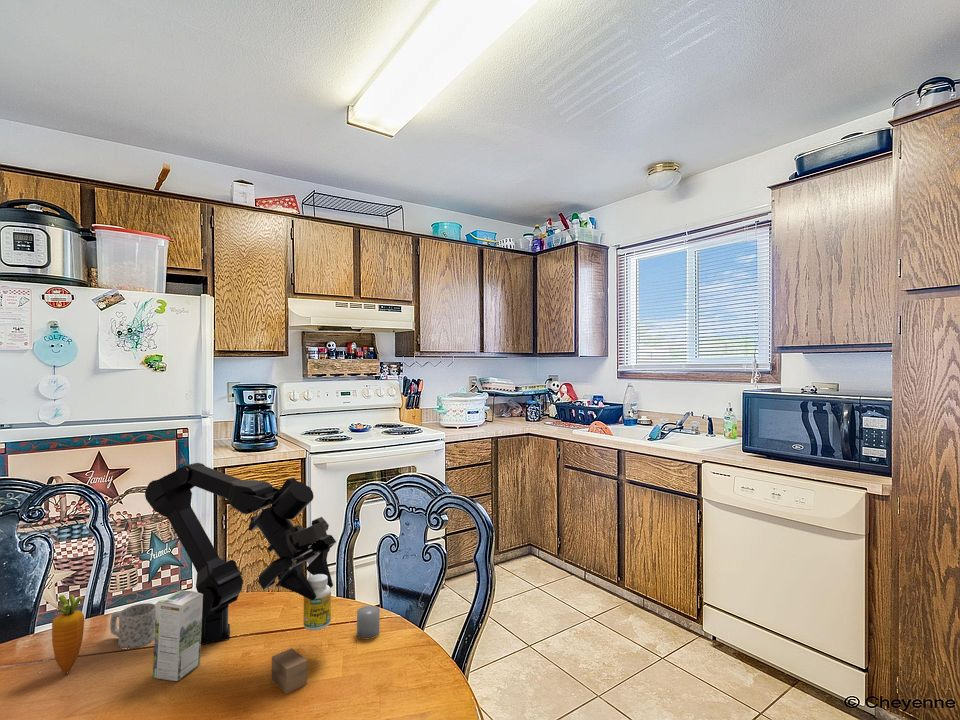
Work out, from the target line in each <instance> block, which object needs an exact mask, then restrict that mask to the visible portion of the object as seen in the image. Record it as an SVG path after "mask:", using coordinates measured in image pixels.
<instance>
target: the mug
mask: <svg viewBox="0 0 960 720" xmlns="http://www.w3.org/2000/svg"><path fill="white" fill-rule="evenodd" d="M155 620H156V603H152V602H145V603H144V602H143V603H138V604H132V605H131V606H128V607H126V608H123V609H122V610H121V611H115V612H113V613H112V614H111V616H110V627H109V628H110V632H111V634H112V635H114V636H116V637H117V638H118V643H117V644H118V645H117V646H119V647H120V648H119V647H118V648H119V649H121V648H127V649H126V650H132V649H131V648H135V649H138V647H139V648H141V646H142V647H144V646H147V645H149V644H151V643H152V642H153V641H155ZM117 621H118V623H119V624H118V625H117ZM128 648H129V649H128Z"/></svg>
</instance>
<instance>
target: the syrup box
mask: <svg viewBox="0 0 960 720" xmlns="http://www.w3.org/2000/svg"><path fill="white" fill-rule="evenodd" d="M155 605H156V620H155V639H154V640H153V641H154V642H153V643H154V645H153V646H154V647H153V648H154V649H153V663H152V677H153V679H160V680H165V681H166V680H167V681H171V682H179V681H180V680H182V679H183V678H184V677H186V676H187V675H189V674H190V673H191V672H192V671H194V670H195V669H197V667H199V666H201V649H202V648H201V647H202V644H201V629H202V607H203V594H202V593H198V592H197V591H193V590H187V589H186V590H181V589H180V590H177V591H176V592H174V593H172V594H170V595H168V596H166V597H164V598H163V599H160V600H159V601H157V602H156V603H155Z"/></svg>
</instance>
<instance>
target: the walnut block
mask: <svg viewBox="0 0 960 720" xmlns="http://www.w3.org/2000/svg"><path fill="white" fill-rule="evenodd" d="M270 676H271V681H272V683H274V684H275V685H276V686H277V687H278V688H279V690H280V689H281V690H282V692H283V693H284V694H286V695H287V694H289V693H291V692H293V691H295V690H297V689H299V688H301V687H304V686H306V685H307V684H308V681H307V680H308V659H307V658H305V657H304V656H303V655H301V654H300V653H299V652H297V650H295V649H294V648H293V647H292V648H289V649H287V650H283V651H281V652H279V653H277V654H274V655H272V656H271V675H270Z"/></svg>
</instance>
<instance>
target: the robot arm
mask: <svg viewBox="0 0 960 720" xmlns="http://www.w3.org/2000/svg"><path fill="white" fill-rule="evenodd" d="M195 487H196V488H198V489H200V490H203V491H206V492H209V493H212V494H213V495H217V496H219V497H221V498H224V499H226V500H227V501H228V503H229V505H230V506H231V507H232V508H234V509H235V510H237V512H240V513H241V514H244V515H248V514H252V513H255V512H258V511H260V512H259V513H258V514H256V515H254V516H251V517H250V521H249V524H248V531H249V532H250V531H253V530H256V529H259V530H260V532H261V533H262V535H263V536H264V539H265V540H266V541H267V543H268V544H269V545H268V547H267V548H266V550H267V551H268V552H269V553H271V552H275V554H276V555H277V557H278V558H277V559H275V560H273V561H272V562H270V564H269V565H268V566H267V567H266V568H264V569H263V571H262V572H261V573H259V575H258V584H259V585H260V587H261V588H262V590H263V591H265V590H266V589H268V588H270V587H272V586H273V585H274V584H275V583H276V579H277V580H278V581H277V583H276V584H275V587H277V588H278V587H281V588H283V589H287V590H288V591H291V592H294V593H296V594H298V595H300V596H302V597H303V598H304V597H306V598H308V599H310V600H314V599H315V598H316V594H315V592H314V590H313V589H312V587H311V585H310V584H309V582H308V581H307V579H308V578H306V576H305V575H304V570H303V569H304V568H303V567H304V565H303V563H304V562H306V563H307V567H305V571H307V572H309V574H310V575H311V576H312V575H316V574H324V575H327V577H328V583H327V585H328V586H329V587H330V588H331V589H332V588H333V586H334V584H333V580H332V576H331V572H330V570H329V564H328V560H327V559H328V555H329V552H330V551H331V548H332V547H333V546H335V544H336V543H337V541H336V539H335V538H334V536H333V535H332V534H328V533H327V531H328V529H329V526H330V525H329V523H328V522H327V520H325V518H323V516H320V517H318V518H315V519H313V520H312V521H311V525H310V526H308V527H305V528H303V526H302V525H299V524H298V525H294V524H293V523H292V521H291V520H293V519H296V517H298V515H299V514H301V513H302V511H304V510H305V508H306V507H308V505H309V504H310V503H311V502H312V501H313V500H314V492H313V489H312V488H311V487H310V486H308V485H307V484H306V483H304V482H302V481H300V480H299V481H297V479H296V478H295V477H291V478H287V479H286V480H285V481H284V483H283V485H282V486H281V487H280V488H277V487H274V486H273V485H272V484H271V483H270V482H268V481H262V480H258V479H257V480H256V479H242V478H241V479H240V478H238V477H235V476H233V475H229V474H227V473H225V472H221V471H219V470H217V469H213V468H212V467H208V466H206V465H205V464H204V463H202V462H201V463H200V462H195V463H188V464H184V465H182V466H180V467H178V468H177V469H176V470H174V471H173V472H171V473H168V474H166V475H164V476H162V477H160V478H158V479H156V480H152V481H150V482H149V483H148V484H147V486H146V488H145V490H144V497H145V500H146V502H147V503H148V504H149V506H150V507H151V508H152V510H153V511H154V512H156V513H158V514H159V515H161V516H163V517H164V518H166V519H167V520H168V521H169V523H170V525H171V527H172V528H173V530H174V533H175V535H176V536H177V538H178V539H179V541H180V544H181V545H182V547H183V549H184V551H185V552H186V554H187V556H188V558H189V560H190V562H191V564H192V566H193V567H194V569H195V571H196V573H197V575H196V581H195V588H196V592H198V593H202V594H203V607H202V629H201V645H204V644H205V645H206V644H210V643H216V642H220V641H223V640H228V639H229V640H230V638H231V623H229V605H231V604H232V603H235V602H237V601H238V598H239V595H240V593H241V592H242V590H243V584H244V580H243V576H242V575H243V573H242V572H241V571H240V569H239V568H238V566H237V564H236V561H235V560H234V559H229V560H227V561H226V560H224V559H222V558H221V557H220V555H219V554H218V552H217V551H216V549H215V547H214V545H213V542H212V541H211V539H210V537H209V536H208V534H207V532H206V531H205V529H204V527H203V525H202V524H201V522H200V520H199V519H198V517H197V514H196V513H195V511H194V510H193V507H192V504H191V503H192V497H193V493H192V489H194V488H195Z"/></svg>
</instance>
